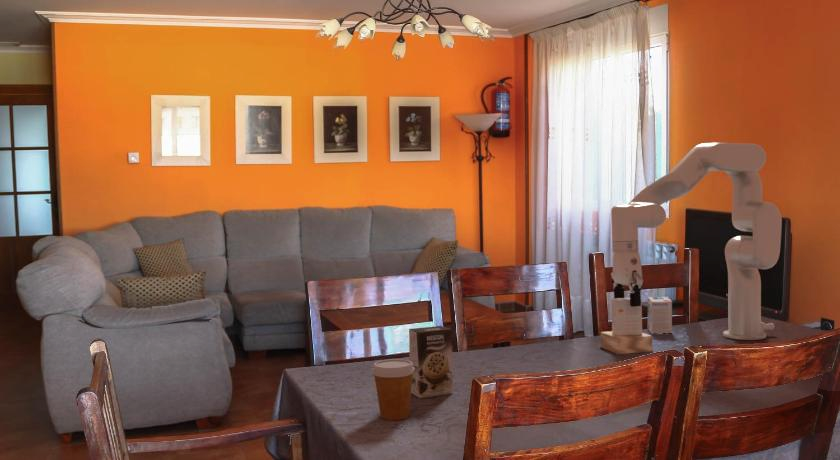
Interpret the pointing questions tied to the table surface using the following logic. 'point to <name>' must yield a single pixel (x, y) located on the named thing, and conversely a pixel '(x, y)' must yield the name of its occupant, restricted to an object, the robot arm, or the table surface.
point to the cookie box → (431, 361)
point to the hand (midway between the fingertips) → (627, 303)
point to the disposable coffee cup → (393, 387)
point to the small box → (626, 317)
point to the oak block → (626, 343)
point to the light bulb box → (659, 315)
